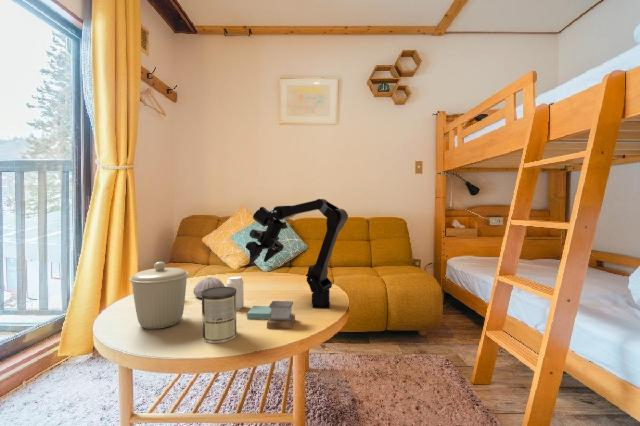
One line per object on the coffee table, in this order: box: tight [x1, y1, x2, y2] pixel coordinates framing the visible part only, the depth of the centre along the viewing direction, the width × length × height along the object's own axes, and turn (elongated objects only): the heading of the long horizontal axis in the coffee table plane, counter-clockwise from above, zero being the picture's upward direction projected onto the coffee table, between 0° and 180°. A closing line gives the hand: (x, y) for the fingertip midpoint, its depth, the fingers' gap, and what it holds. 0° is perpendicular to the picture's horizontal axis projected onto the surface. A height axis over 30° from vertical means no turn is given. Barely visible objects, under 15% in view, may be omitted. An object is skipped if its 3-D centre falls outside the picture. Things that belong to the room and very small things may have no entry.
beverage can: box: [226, 275, 245, 311], centre depth 127 cm, size 6×6×12 cm
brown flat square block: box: [266, 313, 296, 330], centre depth 111 cm, size 8×8×2 cm
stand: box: [246, 305, 271, 320], centre depth 119 cm, size 8×8×2 cm
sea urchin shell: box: [192, 276, 226, 299], centre depth 144 cm, size 13×14×8 cm
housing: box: [268, 300, 294, 321], centre depth 110 cm, size 7×5×5 cm
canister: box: [128, 261, 190, 330], centre depth 111 cm, size 18×18×21 cm
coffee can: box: [201, 286, 238, 344], centre depth 101 cm, size 10×10×14 cm
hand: (257, 262), depth 143 cm, fingers open, 9 cm apart
